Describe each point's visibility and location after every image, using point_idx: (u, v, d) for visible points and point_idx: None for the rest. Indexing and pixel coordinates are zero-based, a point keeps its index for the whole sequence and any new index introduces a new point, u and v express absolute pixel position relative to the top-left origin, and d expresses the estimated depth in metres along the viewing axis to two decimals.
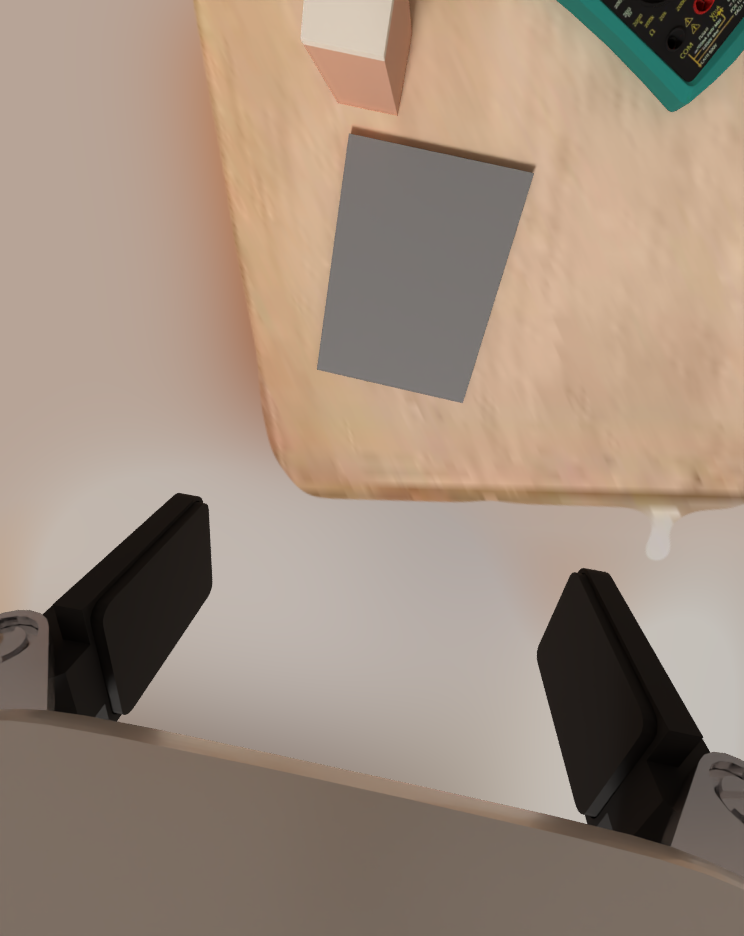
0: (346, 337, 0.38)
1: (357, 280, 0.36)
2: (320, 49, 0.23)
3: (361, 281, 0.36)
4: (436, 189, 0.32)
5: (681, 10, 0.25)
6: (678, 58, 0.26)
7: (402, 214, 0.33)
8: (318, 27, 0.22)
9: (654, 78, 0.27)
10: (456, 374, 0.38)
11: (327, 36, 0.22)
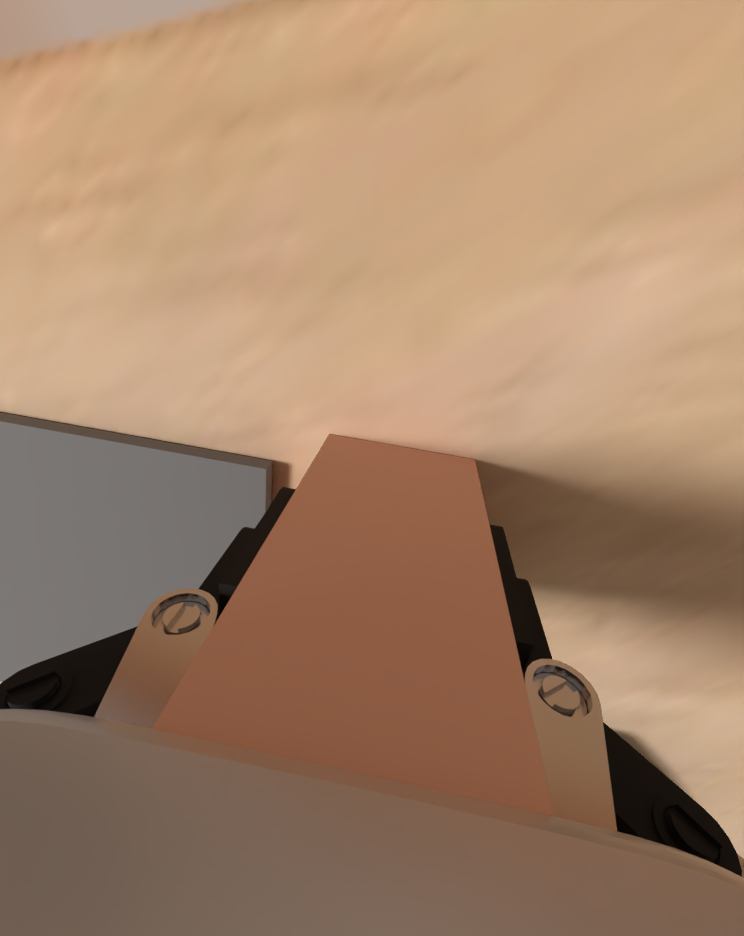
0: None
1: None
2: None
3: None
4: None
5: None
6: None
7: (151, 569, 0.16)
8: None
9: None
10: None
11: None
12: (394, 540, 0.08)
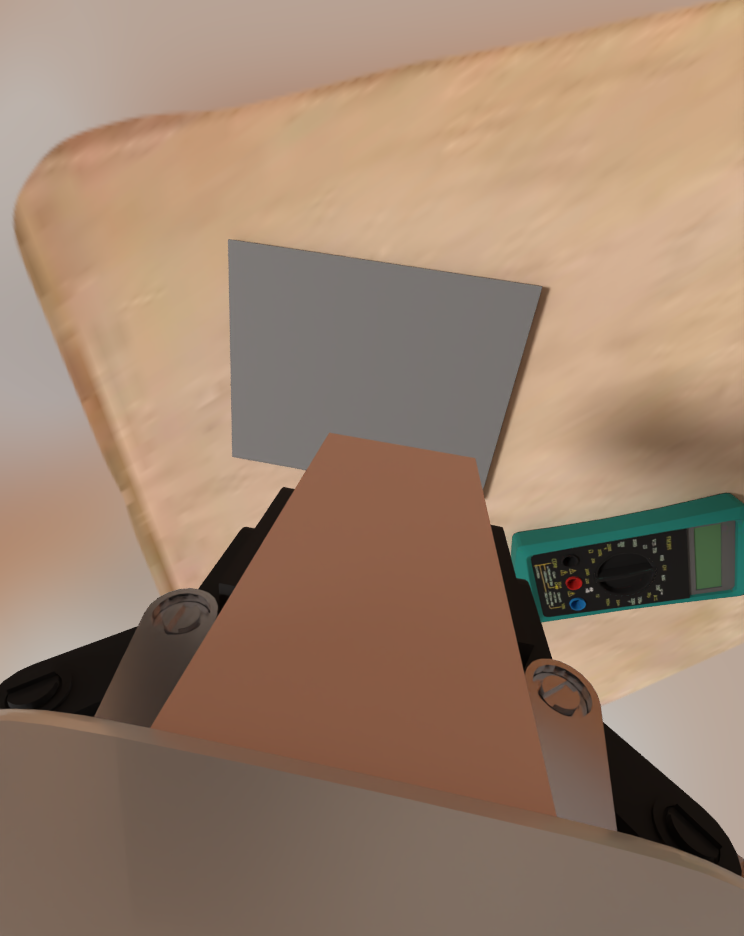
0: (285, 290, 0.25)
1: (364, 305, 0.25)
2: None
3: (363, 312, 0.25)
4: (470, 405, 0.26)
5: (583, 570, 0.29)
6: (555, 557, 0.29)
7: (445, 365, 0.26)
8: None
9: (555, 538, 0.29)
10: (264, 446, 0.30)
11: None
12: (394, 537, 0.08)
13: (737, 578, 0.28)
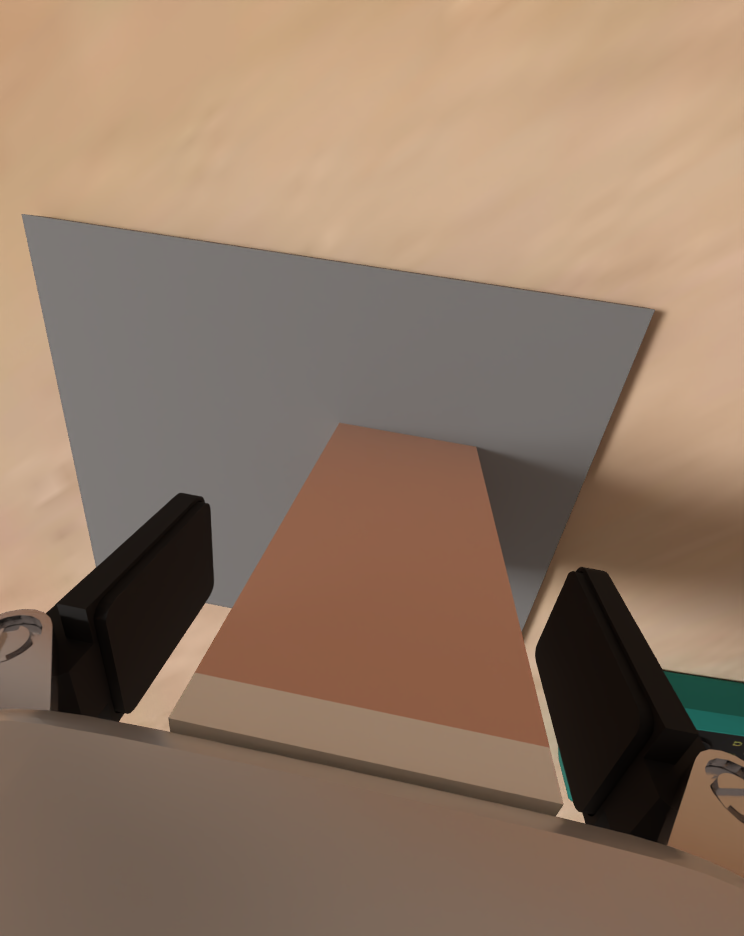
0: (144, 314, 0.13)
1: (295, 344, 0.13)
2: None
3: (295, 355, 0.13)
4: (497, 520, 0.15)
5: None
6: None
7: None
8: None
9: (684, 701, 0.16)
10: None
11: None
12: (403, 513, 0.09)
13: None
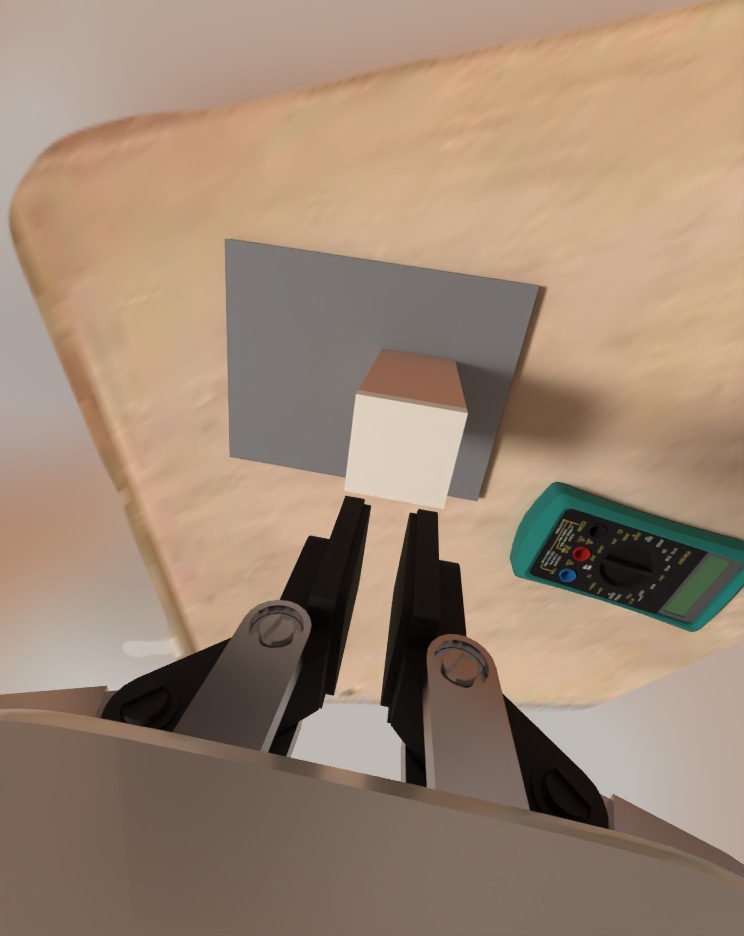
0: (282, 290, 0.25)
1: (361, 305, 0.25)
2: None
3: (360, 311, 0.25)
4: (467, 404, 0.26)
5: (598, 546, 0.28)
6: (587, 520, 0.27)
7: None
8: (367, 417, 0.17)
9: (597, 504, 0.27)
10: (262, 446, 0.30)
11: (359, 428, 0.17)
12: (418, 373, 0.21)
13: (702, 615, 0.29)
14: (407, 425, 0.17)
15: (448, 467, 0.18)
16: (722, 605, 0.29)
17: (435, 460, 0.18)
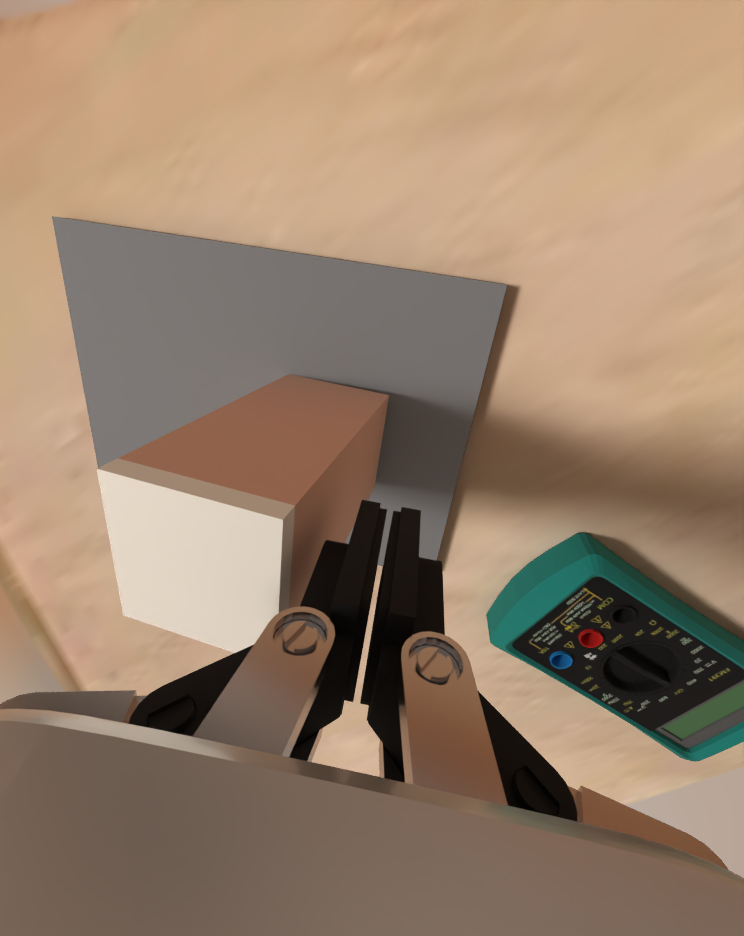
0: (141, 291, 0.17)
1: (253, 312, 0.17)
2: None
3: (253, 321, 0.17)
4: (412, 451, 0.19)
5: (616, 634, 0.20)
6: (615, 598, 0.19)
7: None
8: (124, 509, 0.10)
9: (635, 578, 0.19)
10: None
11: (118, 525, 0.10)
12: (294, 419, 0.13)
13: (707, 745, 0.22)
14: (188, 529, 0.09)
15: (269, 605, 0.10)
16: (739, 741, 0.22)
17: (246, 591, 0.10)
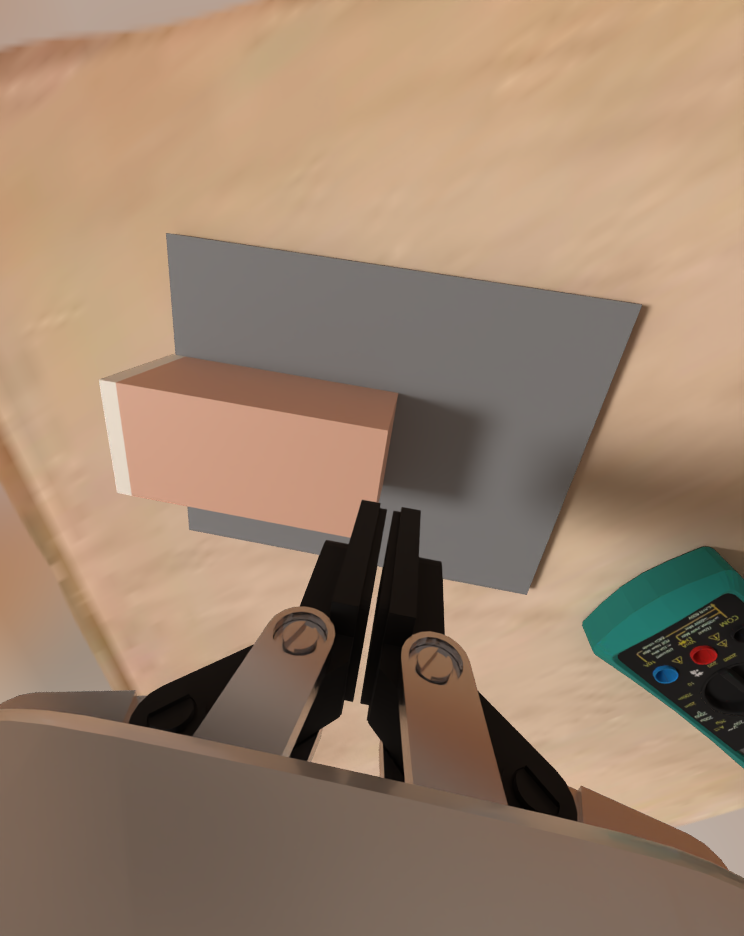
0: (252, 309, 0.17)
1: (369, 331, 0.17)
2: None
3: (368, 340, 0.17)
4: (521, 471, 0.18)
5: (730, 653, 0.20)
6: (741, 616, 0.19)
7: (487, 416, 0.18)
8: None
9: None
10: (232, 518, 0.22)
11: None
12: (268, 389, 0.16)
13: None
14: None
15: None
16: None
17: None
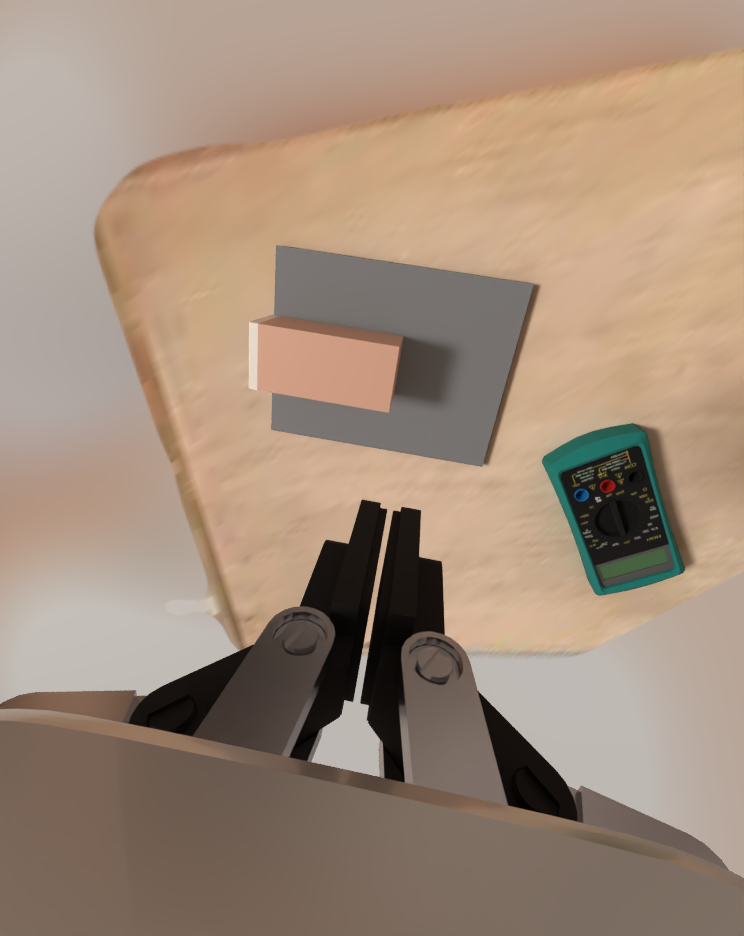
0: (321, 287, 0.30)
1: (387, 299, 0.30)
2: None
3: (386, 305, 0.30)
4: (474, 383, 0.32)
5: (621, 489, 0.33)
6: (637, 464, 0.32)
7: (454, 349, 0.31)
8: None
9: None
10: (299, 420, 0.35)
11: None
12: (333, 330, 0.29)
13: (616, 586, 0.36)
14: None
15: None
16: (635, 586, 0.36)
17: None
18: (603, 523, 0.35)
